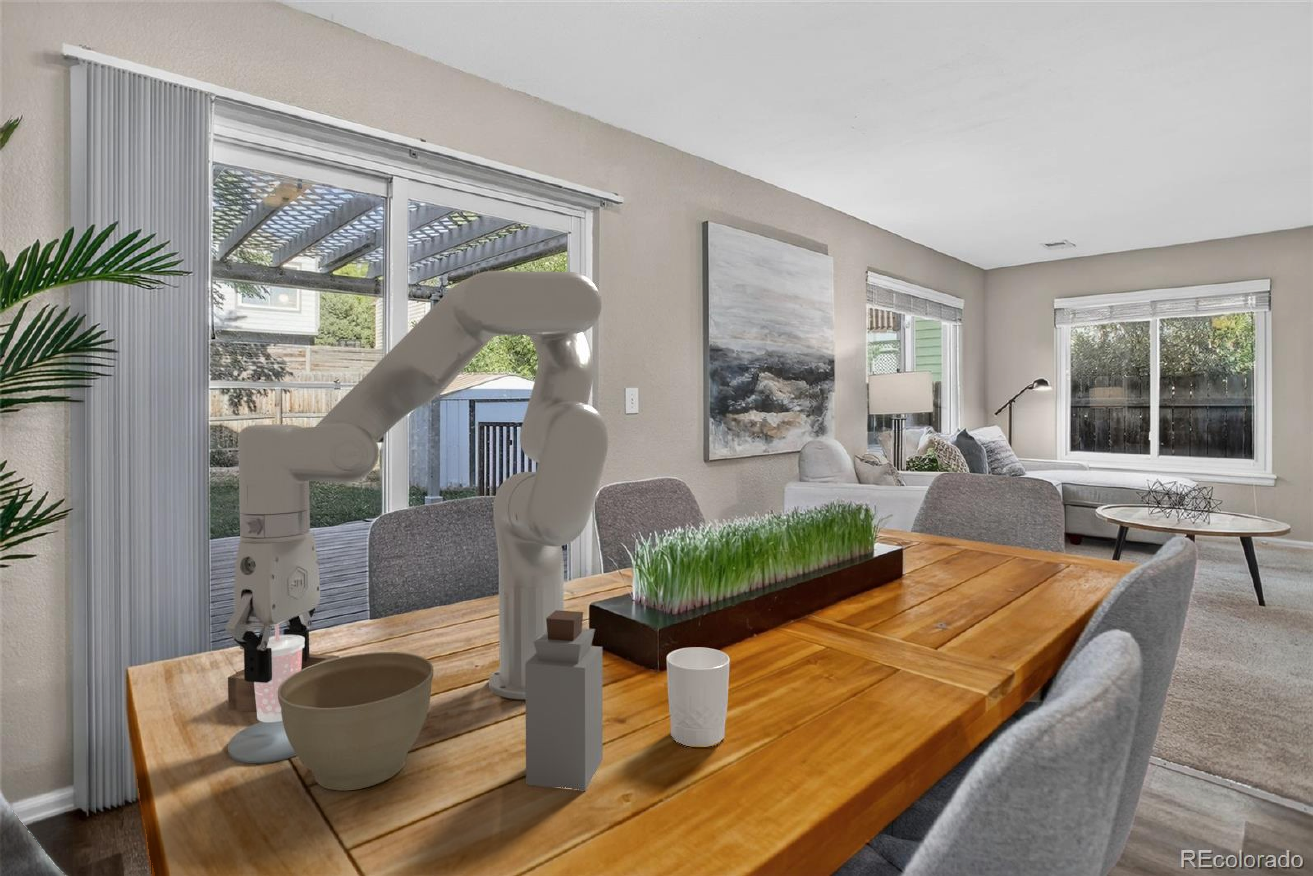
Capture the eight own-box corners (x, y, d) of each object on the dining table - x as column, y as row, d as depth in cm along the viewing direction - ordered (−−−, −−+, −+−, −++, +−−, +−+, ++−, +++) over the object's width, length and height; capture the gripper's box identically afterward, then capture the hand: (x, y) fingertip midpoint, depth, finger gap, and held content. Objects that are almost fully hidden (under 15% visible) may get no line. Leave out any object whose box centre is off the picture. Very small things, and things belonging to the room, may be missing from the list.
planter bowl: (316, 739, 87) (314, 653, 87) (448, 735, 89) (447, 650, 88) (250, 814, 71) (248, 708, 71) (413, 807, 72) (411, 704, 72)
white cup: (711, 757, 83) (711, 674, 82) (654, 741, 87) (654, 661, 87) (739, 731, 90) (740, 654, 89) (686, 717, 94) (686, 643, 93)
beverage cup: (258, 706, 89) (256, 597, 88) (311, 701, 90) (309, 594, 90) (242, 727, 83) (240, 610, 83) (299, 722, 85) (297, 607, 84)
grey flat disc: (347, 724, 92) (347, 718, 92) (291, 766, 81) (291, 759, 81) (270, 718, 93) (270, 712, 93) (206, 759, 82) (205, 752, 82)
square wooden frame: (339, 685, 104) (339, 655, 104) (295, 714, 94) (294, 681, 94) (278, 681, 106) (277, 652, 106) (228, 710, 96) (227, 677, 96)
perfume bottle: (585, 791, 76) (584, 626, 75) (526, 784, 77) (524, 622, 76) (602, 760, 82) (602, 608, 81) (547, 755, 83) (547, 605, 83)
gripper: (252, 539, 77) (255, 701, 77) (345, 515, 94) (347, 648, 95) (191, 537, 78) (195, 697, 79) (294, 514, 95) (296, 645, 96)
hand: (278, 669), depth 87 cm, fingers closed on beverage cup, 6 cm apart
